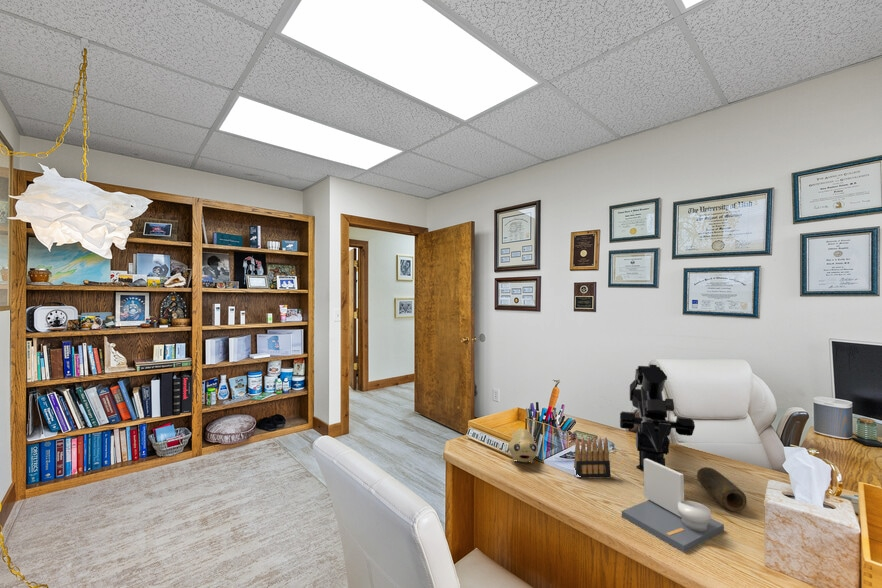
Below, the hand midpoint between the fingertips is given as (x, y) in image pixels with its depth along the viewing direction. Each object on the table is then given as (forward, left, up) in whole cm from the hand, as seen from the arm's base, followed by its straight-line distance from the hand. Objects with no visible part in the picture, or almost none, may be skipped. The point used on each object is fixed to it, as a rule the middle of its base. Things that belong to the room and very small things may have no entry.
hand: (658, 451), depth 104 cm
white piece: (+9, -8, -10) cm, 16 cm away
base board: (+9, -11, -12) cm, 19 cm away
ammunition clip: (-17, -8, -12) cm, 22 cm away
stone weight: (+9, +12, -12) cm, 20 cm away
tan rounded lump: (-35, -20, -12) cm, 42 cm away
